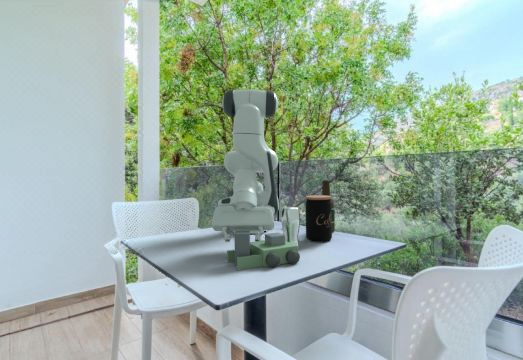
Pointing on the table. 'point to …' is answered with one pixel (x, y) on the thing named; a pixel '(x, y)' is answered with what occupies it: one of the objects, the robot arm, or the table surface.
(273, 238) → the green toy forklift
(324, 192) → the beer bottle
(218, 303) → the table surface
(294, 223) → the beer glass
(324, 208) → the coffee jar
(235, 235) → the tall gray column
